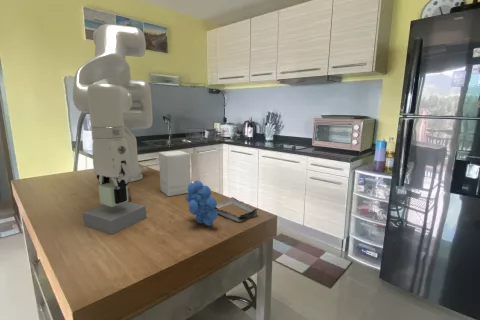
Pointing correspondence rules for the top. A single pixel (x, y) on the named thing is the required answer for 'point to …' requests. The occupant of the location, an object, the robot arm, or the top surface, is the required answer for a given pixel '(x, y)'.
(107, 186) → the sage cube
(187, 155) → the supplement box
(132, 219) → the base block
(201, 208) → the grapes
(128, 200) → the walnut cube
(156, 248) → the top surface
